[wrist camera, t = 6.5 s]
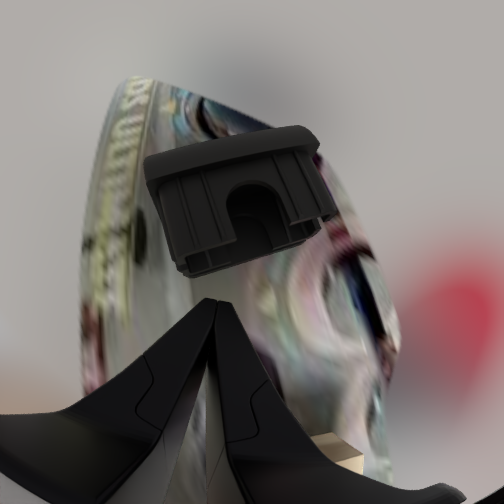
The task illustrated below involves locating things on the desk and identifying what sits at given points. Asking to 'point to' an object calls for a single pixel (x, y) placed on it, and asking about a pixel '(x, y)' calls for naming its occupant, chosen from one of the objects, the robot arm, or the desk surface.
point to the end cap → (238, 197)
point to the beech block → (340, 451)
